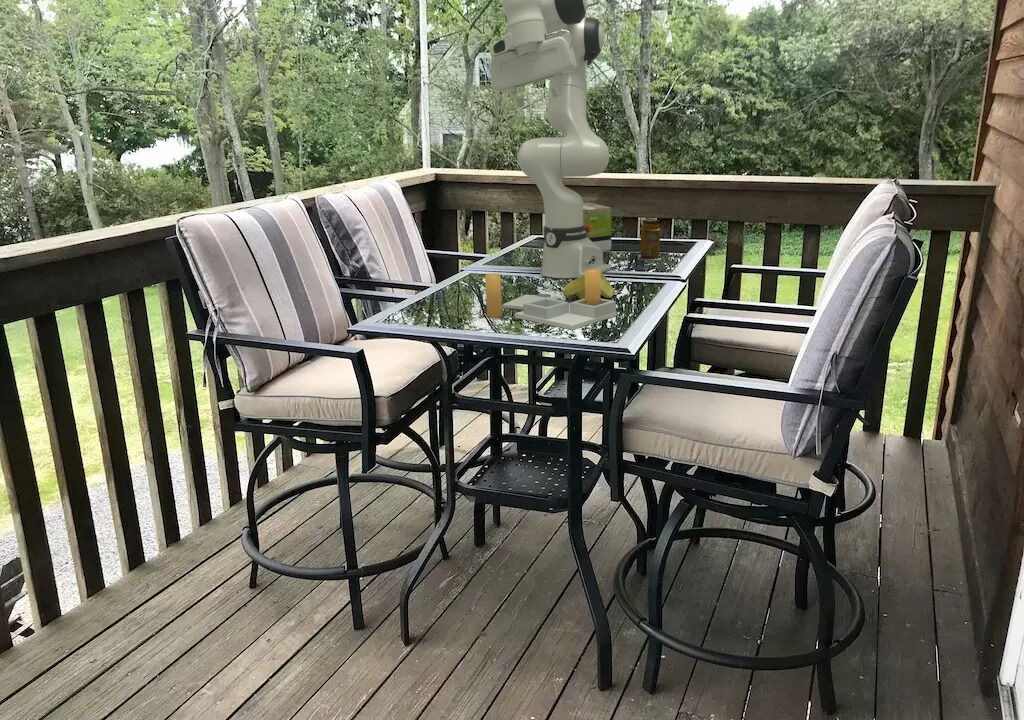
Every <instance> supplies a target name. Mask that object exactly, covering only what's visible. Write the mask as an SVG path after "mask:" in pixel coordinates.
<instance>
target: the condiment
mask: <svg viewBox="0 0 1024 720" xmlns="http://www.w3.org/2000/svg"><path fill="white" fill-rule="evenodd" d="M641 222H642V224H641V227H642V228H641V229H640V254H637V255H638V256H637V260H638V261H639V260H640V261H661V260H662V255H661V254H660V250H661V249H660V248H661V247H660V246H661V228H660V220H659V219H655V218H647V219H643V220H642V221H641ZM659 256H661V258H659ZM655 258H659V259H655ZM652 259H653V260H652Z"/></svg>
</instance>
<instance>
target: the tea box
mask: <svg viewBox="0 0 1024 720" xmlns="http://www.w3.org/2000/svg"><path fill="white" fill-rule="evenodd" d="M583 225H584V226H586V225H588V226H592V227H593V229H592V230H593V232H587V235H588V237H587V238H589V239H590V240H591V241H592V242H593V243H594V244H596V245H597V246H598V247H599V248H600V249H601V250H602V252H606V251H611V250H612V207H610V206H605V205H601V204H597V203H592V202H583Z"/></svg>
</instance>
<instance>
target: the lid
mask: <svg viewBox="0 0 1024 720" xmlns="http://www.w3.org/2000/svg"><path fill="white" fill-rule="evenodd" d="M543 298H548V299H554V300H559V301H561V297H556V296H551V294H549V293H548V294H547V293H539V294H536V295H535V294H527V293H526V294H524V295H521V296H519V297H517V298H514V299H512V300H509V301H508V302H504V303H503V304H502V308H503V309H511V310H512V309H513V310H520V311H523V304H525V303H528V302H532V301H536V300H539V299H543Z"/></svg>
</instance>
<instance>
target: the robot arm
mask: <svg viewBox="0 0 1024 720" xmlns="http://www.w3.org/2000/svg"><path fill="white" fill-rule="evenodd" d="M501 2H502V3H501V4H502V9H503V14H504V19H505V23H506V34H505V35H503V36H502V37H501V38H500V39H499V40H497V41H496V42H494V43H493V44H492V45H491V46H490V47H489V53H490V56H492V59H491V61H490V66H489V67H490V77H491V83H492V88H493V89H494V90H495V91H496V92H501V93H503V92H506V91H508V94H509V95H510V97H511V98H512V100H514V105H515V108H516V109H517V108H519V109H520V108H522V107H525V101H524V98H523V97H522V98H521V97H519V96H518V94H517V93H518V92H519V91H518V89H519V88H521V87H523V86H524V87H525V86H528V85H531V84H535V83H538V82H542V81H546V80H549V84H548V93H547V107H546V120H547V121H548V123H549V124H550V125H551V127H552V128H554V129H555V130H557V131H559V132H561V133H563V134H564V135H565V136H560V137H558V136H556V137H553V136H552V137H549V136H548V137H538V138H533V139H529V140H526V141H524V142H522V145H521V146H520V147H519V149H518V152H517V162H518V165H519V166H518V167H519V168H520V170H521V171H522V172H523V174H524V175H525V176H527V177H528V178H530V179H531V181H533V182H534V184H535V185H536V186H537V188H538V189H539V191H540V194H541V197H542V201H543V210H544V226H543V239H544V243H543V250H542V261H541V266H540V268H539V269H540V270H541V271H540V276H542V275H543V277H545V276H546V278H551V277H552V278H553V279H577V278H579V277H581V276H583V275H585V270H587V269H599V270H601V272H602V273H604V272H608V271H610V270H612V265H610V264H607V263H604V254H603V251H602V250H601V249H600V248H599V247H598V246H597V245H596V244H594V243H593V242H592V241H591V240H590V239H589V238H587V237H588V235H587V232H593V230H592V229H593V227H592V226H588V225H586V226H584V225H583V203H584V200H583V198H582V196H581V195H580V194H579V193H578V192H576V191H575V190H573V189H571V188H569V187H567V186H565V185H564V183H563V181H562V180H563V179H562V178H568V177H569V178H576V177H577V178H581V177H584V178H585V177H590V176H595V175H599V174H602V173H604V171H605V170H606V169H607V167H608V165H609V161H610V151H609V147H608V145H607V144H606V142H605V141H604V140H603V139H602V138H601V137H599V136H598V135H596V133H595V132H593V130H592V129H591V127H590V125H589V122H588V118H587V95H588V94H587V93H588V88H587V87H588V86H587V85H588V84H587V83H588V82H587V71H586V68H585V64H586V63H587V65H588V66H590V65H592V64H593V61H594V60H595V59H597V57H598V56H599V55H600V54H601V52H602V50H603V47H604V43H605V32H604V28H603V26H602V23H601V21H600V20H599V18H595V17H585V16H586V14H587V8H588V6H587V5H588V4H587V3H588V2H587V0H501Z"/></svg>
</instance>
